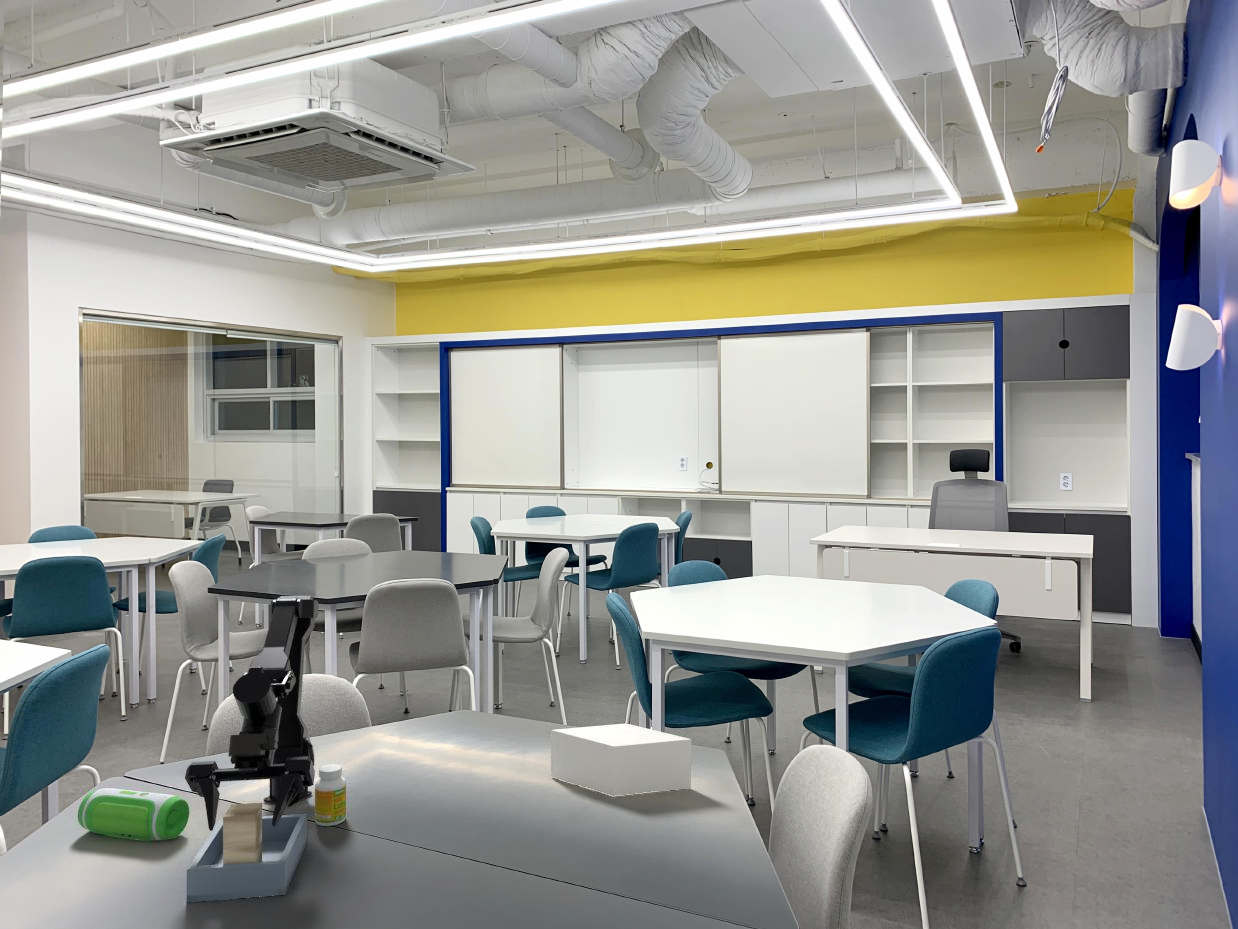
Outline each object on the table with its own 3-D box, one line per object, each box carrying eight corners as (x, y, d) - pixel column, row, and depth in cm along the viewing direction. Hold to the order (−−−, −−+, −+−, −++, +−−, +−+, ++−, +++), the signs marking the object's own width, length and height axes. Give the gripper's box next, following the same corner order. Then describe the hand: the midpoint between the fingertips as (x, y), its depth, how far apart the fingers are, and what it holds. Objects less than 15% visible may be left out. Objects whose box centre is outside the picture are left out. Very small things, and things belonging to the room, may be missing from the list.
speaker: (192, 831, 155) (192, 789, 154) (162, 850, 147) (162, 806, 147) (108, 821, 158) (108, 780, 158) (75, 839, 151) (74, 796, 151)
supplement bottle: (336, 828, 156) (336, 774, 156) (309, 825, 157) (309, 771, 157) (351, 815, 161) (351, 763, 161) (324, 813, 162) (324, 761, 162)
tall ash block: (231, 873, 137) (231, 804, 137) (262, 871, 138) (262, 802, 138) (223, 888, 133) (223, 816, 132) (254, 886, 133) (255, 815, 133)
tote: (220, 848, 148) (220, 818, 148) (307, 842, 150) (307, 813, 150) (186, 902, 130) (186, 869, 130) (285, 895, 133) (285, 863, 132)
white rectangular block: (687, 804, 168) (687, 751, 168) (541, 792, 173) (542, 741, 173) (693, 776, 183) (694, 727, 182) (559, 766, 188) (559, 719, 187)
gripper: (188, 712, 138) (164, 810, 127) (311, 707, 141) (298, 802, 130) (203, 744, 146) (182, 839, 135) (320, 739, 149) (308, 831, 138)
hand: (242, 827), depth 135 cm, fingers open, 9 cm apart
